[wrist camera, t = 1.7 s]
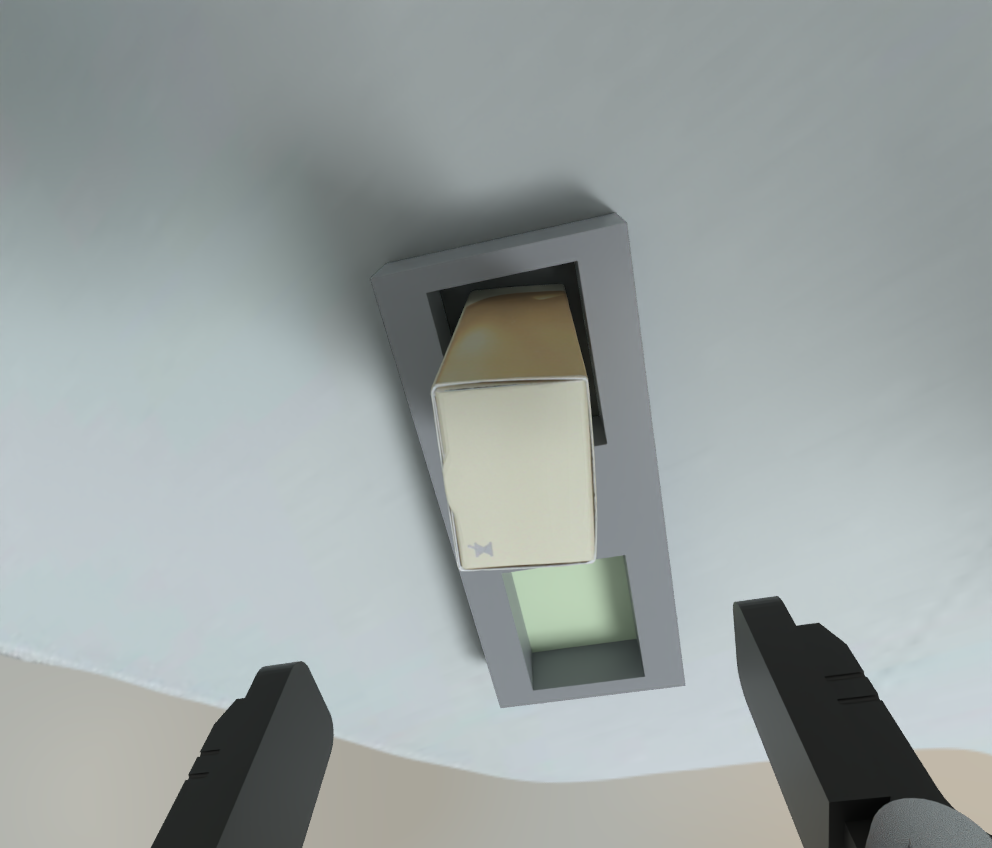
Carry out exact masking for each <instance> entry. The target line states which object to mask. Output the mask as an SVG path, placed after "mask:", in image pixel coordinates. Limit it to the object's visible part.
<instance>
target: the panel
mask: <svg viewBox="0 0 992 848" xmlns="http://www.w3.org/2000/svg"><path fill="white" fill-rule="evenodd" d="M569 262H575V268H576V274H577V280H578V286H579V292H580V298H581V305H582V311H583V317H584V323H585V329H586V335H587V341H588V347H589V353H590V359H591V365H592V371H593V377H594V384H595V390H596V396H597V402H598V408H599V414H600V416H594V417H592V428H593V442H594V456H595V475H596V495H597V552H596V560H595V562H594V563H592V564H580V565H571V566H561V567H546V568H527V569H508V570H478V571H460V570H459V569H458V570H459V573H460V576H461V580H462V583H463V586H464V589H465V593H466V596H467V599H468V603H469V606H470V609H471V613H472V616H473V619H474V622H475V626H476V629H477V632H478V636H479V639H480V642H481V645H482V649H483V652H484V655H485V659H486V662H487V665H488V669H489V672H490V675H491V678H492V682H493V685H494V688H495V692H496V695H497V698H498V702H499V705H500V708H506V707H514V706H522V705H530V704H538V703H547V702H555V701H563V700H571V699H580V698H588V697H596V696H604V695H613V694H621V693H629V692H637V691H645V690H654V689H662V688H670V687H678V686H685V678H684V671H683V663H682V655H681V647H680V639H679V631H678V623H677V615H676V607H675V599H674V591H673V584H672V576H671V568H670V560H669V552H668V544H667V536H666V528H665V520H664V512H663V504H662V496H661V489H660V481H659V473H658V465H657V457H656V449H655V441H654V433H653V425H652V417H651V409H650V402H649V394H648V386H647V378H646V370H645V362H644V354H643V346H642V338H641V330H640V322H639V315H638V307H637V299H636V291H635V283H634V275H633V267H632V259H631V251H630V243H629V235H628V228H627V222H626V221H625V220H624V219H623V218H621V217H620V216H619V215H618V214H617V213H612V214H608V215H603V216H599V217H594V218H590V219H585V220H581V221H576V222H572V223H567V224H563V225H558V226H553V227H549V228H544V229H540V230H535V231H531V232H526V233H522V234H517V235H513V236H508V237H504V238H499V239H495V240H490V241H486V242H481V243H477V244H472V245H468V246H463V247H458V248H454V249H449V250H445V251H440V252H436V253H431V254H427V255H422V256H418V257H413V258H409V259H404V260H400V261H395V262H391V263H386V264H385V265H384V266H383V267H382V268H381V269H379V270H378V271H377V272H376V273H375V274H374V275H373V276H372V277H371V278H370V280H371V283H372V286H373V290H374V293H375V296H376V300H377V303H378V306H379V309H380V313H381V316H382V319H383V323H384V326H385V329H386V332H387V336H388V339H389V342H390V346H391V349H392V352H393V356H394V359H395V362H396V365H397V369H398V372H399V375H400V379H401V382H402V385H403V389H404V392H405V395H406V398H407V402H408V405H409V408H410V412H411V415H412V418H413V421H414V425H415V428H416V431H417V435H418V438H419V441H420V445H421V448H422V451H423V454H424V458H425V461H426V464H427V468H428V471H429V474H430V477H431V481H432V484H433V487H434V491H435V494H436V497H437V501H438V504H439V507H440V510H441V514H442V517H443V520H444V524H445V527H446V530H447V533H448V537H449V540H450V543H451V547H452V550H453V553H454V557H455V560H456V553H455V548H454V542H453V535H452V530H451V523H450V517H449V510H448V505H447V499H446V493H445V487H444V480H443V474H442V468H441V460H440V454H439V447H438V440H437V434H436V427H435V420H434V413H433V405H432V399H431V387H432V385H433V383H434V380H435V378H436V375H437V373H438V371H439V368H440V366H441V363H442V361H443V358H444V356H445V353H446V351H447V348H448V346H449V344H450V341H451V339H452V337H451V333H450V329H449V326H448V322H447V318H446V314H445V310H444V306H443V302H442V298H441V295H440V291H439V290H442V289H447V288H452V287H456V286H461V285H466V284H470V283H475V282H480V281H485V280H489V279H494V278H499V277H503V276H508V275H513V274H517V273H522V272H527V271H532V270H536V269H541V268H546V267H550V266H555V265H560V264H564V263H569ZM456 563H457V560H456Z"/></svg>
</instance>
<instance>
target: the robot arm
mask: <svg viewBox="0 0 992 848" xmlns="http://www.w3.org/2000/svg"><path fill="white" fill-rule="evenodd" d="M733 616H734V629H735V643H736V656H737V667H738V673H739V678H740V682H741V686H742V690H743V693H744V696H745V699H746V702H747V705H748V707H749V710H750V712H751V715H752V718H753V720H754V723H755V725H756V728H757V730H758V733H759V735H760V738H761V740H762V743H763V745H764V748H765V750H766V753H767V756H768V758H769V761H770V763H771V766H772V768H773V771H774V773H775V776H776V778H777V781H778V783H779V786H780V788H781V791H782V794H783V796H784V799H785V801H786V804H787V806H788V809H789V811H790V814H791V816H792V819H793V821H794V824H795V827H796V829H797V832H798V834H799V837H800V839H801V841H802V844H803V847H804V848H992V835H990V834H988V833H986V832H985V831H984V830H983V829H982V828H980V827H979V826H978V825H977V824H976V823H974V822H973V821H972V820H971V819H969V818H968V817H966V816H965V815H963V814H961V813H960V812H958V811H956V810H955V809H954V808H953V807H952V806H951V805H950V804H949V803H948V801H947V800H946V799H945V798H944V797H943V795H942V794H941V793H940V791H939V790H938V788H937V787H936V785H935V784H934V782H933V781H932V779H931V777H930V776H929V774H928V772H927V771H926V769H925V768H924V766H923V765H922V763H921V762H920V760H919V758H918V757H917V755H916V754H915V752H914V750H913V749H912V747H911V746H910V744H909V742H908V741H907V739H906V738H905V736H904V734H903V733H902V731H901V730H900V728H899V727H898V725H897V723H896V722H895V720H894V719H893V717H892V715H891V714H890V712H889V711H888V709H887V708H886V706H885V704H884V703H883V701H882V700H880V699H879V697H878V693H877V692H876V690H875V689H874V687H873V685H872V684H871V682H870V681H869V679H868V678H867V677H865V675H864V671H863V670H862V668H861V666H860V665H859V663H858V662H857V660H856V659H855V657H854V655H853V654H852V652H851V651H850V649H849V647H848V646H847V644H845V643H844V642H843V641H842V640H840V639H839V638H838V637H836V636H835V635H834V634H833V633H831V632H830V631H829V630H828V629H826V628H825V627H824V626H822V625H821V624H820V623H814V624H806V625H799V626H796V625H795V623H794V621H793V619H792V617H791V616H790V614H789V612H788V610H787V608H786V607H785V605H784V603H783V601H782V600H781V599H780V598H779V597H778V596H774V597H767V598H760V599H753V600H746V601H738V602H734V604H733ZM332 745H333V722H332V718H331V715H330V712H329V710H328V708H327V706H326V704H325V702H324V700H323V697H322V695H321V693H320V691H319V689H318V687H317V685H316V683H315V680H314V678H313V676H312V674H311V672H310V670H309V668H308V666H307V665H306V664H305V663H304V662H302V661H300V662H293V663H285V664H278V665H271V666H265V667H262V668H261V669H260V670H259V671H258V673H257V675H256V676H255V678H254V681H253V683H252V685H251V687H250V689H249V691H248V693H247V695H246V697H245V698H242V699H236V700H235V702H234V703H233V704H232V705H231V706H230V707H229V708H228V709H227V710H226V712H225V713H224V714H223V715H222V716H221V717H220V718H219V719H218V721H217V722H216V723H215V724H214V726H213V728H212V730H211V732H210V734H209V736H208V737H207V740H206V741H205V743H204V745H203V747H202V749H201V751H200V752H201V755H200V757H197V759H196V761H195V763H194V765H193V767H192V769H191V771H190V772H189V779H188V780H186V781H185V782H184V784H183V786H182V788H181V790H180V792H179V794H178V796H177V798H176V800H175V802H174V804H173V806H172V808H171V810H170V812H169V813H168V816H167V817H166V819H165V821H164V823H163V825H162V827H161V829H160V831H159V833H158V835H157V837H156V839H155V841H154V843H153V845H152V847H151V848H302V846H303V843H304V840H305V836H306V833H307V830H308V827H309V823H310V820H311V817H312V813H313V810H314V807H315V803H316V800H317V797H318V794H319V790H320V787H321V784H322V780H323V777H324V774H325V770H326V767H327V764H328V761H329V757H330V754H331V750H332Z"/></svg>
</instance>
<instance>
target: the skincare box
mask: <svg viewBox="0 0 992 848" xmlns="http://www.w3.org/2000/svg"><path fill="white" fill-rule="evenodd" d="M431 399H432V405H433V413H434V420H435V427H436V434H437V440H438V447H439V454H440V460H441V468H442V474H443V480H444V487H445V493H446V499H447V505H448V510H449V517H450V523H451V530H452V535H453V542H454V548H455V553H456V560H457V567H458V569H459V570H460V571H478V570H508V569H527V568H546V567H561V566H571V565H580V564H592V563H594V562H595V560H596V552H597V495H596V475H595V456H594V442H593V428H592V416H591V405H590V393H589V383H588V377H587V373H586V370H585V365H584V362H583V358H582V354H581V350H580V346H579V343H578V339H577V335H576V331H575V327H574V323H573V319H572V315H571V312H570V308H569V304H568V299H567V295H566V291H565V287H564V285H563V284H549V285H532V286H516V287H504V288H493V289H482V290H474V291H472V292H471V293H470V294H469V297H468V299H467V302H466V304H465V307H464V309H463V312H462V314H461V317H460V319H459V321H458V324H457V326H456V329H455V331H454V334H453V336H452V339H451V341H450V344H449V346H448V348H447V351H446V353H445V356H444V358H443V361H442V363H441V366H440V368H439V371H438V373H437V375H436V378H435V380H434V383H433V385H432V387H431Z"/></svg>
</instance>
